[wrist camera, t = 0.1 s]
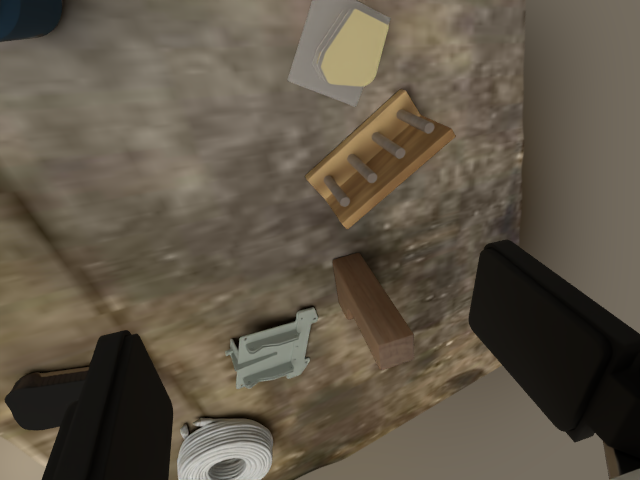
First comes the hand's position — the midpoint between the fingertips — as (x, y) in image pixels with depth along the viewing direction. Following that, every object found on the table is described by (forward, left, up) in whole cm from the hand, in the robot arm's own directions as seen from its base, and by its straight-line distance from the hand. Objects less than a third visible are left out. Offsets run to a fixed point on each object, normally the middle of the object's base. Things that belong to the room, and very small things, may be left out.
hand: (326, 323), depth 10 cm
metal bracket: (+31, -24, -37) cm, 54 cm away
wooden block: (+31, -7, -37) cm, 49 cm away
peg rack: (+15, +7, -37) cm, 41 cm away
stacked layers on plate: (+4, +12, -37) cm, 40 cm away
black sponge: (+14, -46, -37) cm, 61 cm away
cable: (+43, -47, -37) cm, 74 cm away
